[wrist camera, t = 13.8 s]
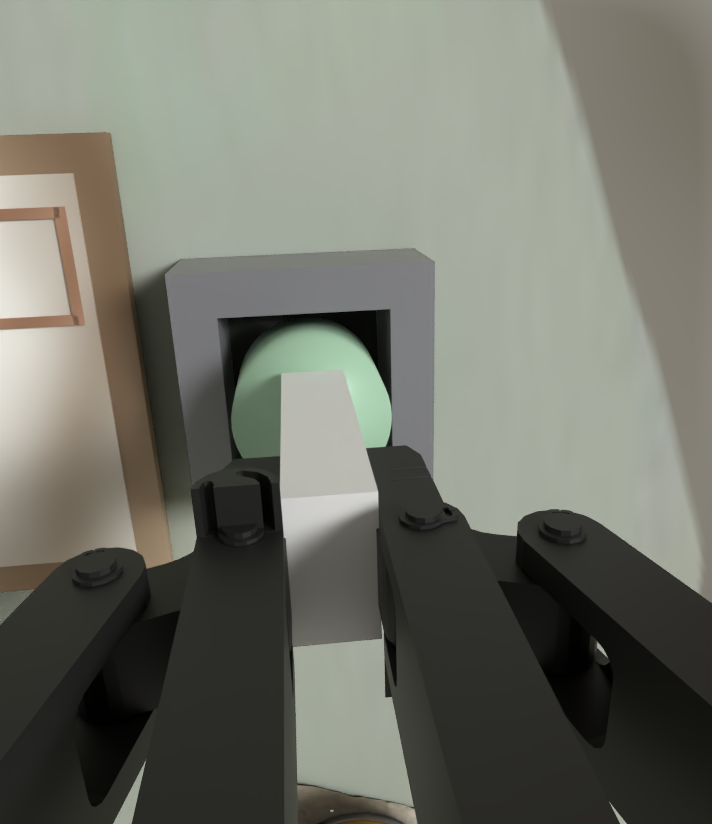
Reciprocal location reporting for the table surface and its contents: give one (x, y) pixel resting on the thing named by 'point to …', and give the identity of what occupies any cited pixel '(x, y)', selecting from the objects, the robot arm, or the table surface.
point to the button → (302, 352)
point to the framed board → (70, 366)
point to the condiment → (348, 809)
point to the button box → (301, 294)
